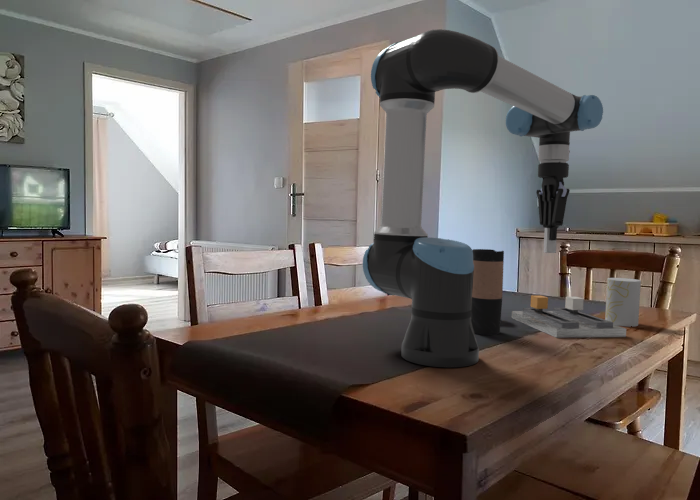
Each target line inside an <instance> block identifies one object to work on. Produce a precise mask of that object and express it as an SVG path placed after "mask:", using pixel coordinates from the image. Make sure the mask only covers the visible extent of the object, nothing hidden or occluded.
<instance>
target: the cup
mask: <svg viewBox="0 0 700 500" xmlns="http://www.w3.org/2000/svg"><path fill="white" fill-rule="evenodd" d="M641 283H642V280H641V279H635V278H627V277H626V278H625V277H607V281H606V284H607V285H606V300H605V317H604V320H607V321H611V322H613V325H617V326H620V327H631V326H632V327H637V326H639V321H640V319H639V317H640V305H641V304H640V301H641Z"/></svg>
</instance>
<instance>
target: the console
mask: <svg viewBox="0 0 700 500" xmlns="http://www.w3.org/2000/svg"><path fill="white" fill-rule="evenodd" d="M511 319H513V320H514V321H517V322H519V323H522V324H524V325H526V326H528V327H531V328H533V329H536V330H538V331H540V332H543V333H545V334H547V335H549V336H552V337H554V338H557V339H558V338H559V339H560V338H562V339H563V338H564V339H565V338H567V339H568V338H569V339H570V338H571V339H572V338H627V328H626V327H624V326H617V325H613V322H611V321H607V320H605V318H602V317H601V318H600V317H598V316H594V315H591V314H588V313H585V312H582V311H580V310H578V315H577V314H574V313H571V312H570V309H568V308H565V307H553V309H552V310H546V309H543V312H542V313H539V312H537V311H535V308H533V307H522V310H512V311H511Z"/></svg>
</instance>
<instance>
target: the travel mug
mask: <svg viewBox="0 0 700 500" xmlns="http://www.w3.org/2000/svg"><path fill="white" fill-rule="evenodd" d="M472 251H473V264H474V273H473V290H472V308H471V323H472V327H473V330H474V334H475V335H480V336H483V335H484V336H495V335H496V336H497V335H499V334H500V332H501V322H502V321H501V320H502V308H503V307H502V305H503V292H504V291H503V289H504V287H503V286H504V263H505V262H504V260H505V259H504V256H505V255H504V254H505V252H504V250H499V251H497V250H495V249H488V248H487V249H486V248H476V249H475V248H473V249H472Z"/></svg>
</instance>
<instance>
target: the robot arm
mask: <svg viewBox="0 0 700 500" xmlns="http://www.w3.org/2000/svg"><path fill="white" fill-rule="evenodd" d="M371 66H372V67H371V71H370V81H371V86H372V88H373V90H375V94H376V95H377V96H378V98H379V106H380V108H382V110H383V111H384V112H385V114H386V118H385V136H384V138H385V140H384V158H383V159H384V162H383V163H384V164H383V179H382V180H383V181H382V184H383V185H382V202H381V204H382V205H381V224H380V225H379V227H378V228H376V230H374V232H373V242H372V243H371V244H369V246H368V248H367V249H366V250H365V251H364V254H363V258H362V271H363V275H364V277H365V280H366V281H367V283H369V285H370V286H371V287H373V288H374V289H375V290H377V291H379V292H382V293H384V294H386V295H388V296H397V297H401V298H404V299H405V298H406V299H411V314H410V315H411V316H410V317H411V318H410V321H409V323H408V326H407V328H406V332H405V334H404V338H403V340H402V342H401V349H400V350H401V355H400V356H401V357H402V358H403V359H404V360H405V361H407V362H410V363H414V364H417V365H421V366H426V367H427V366H428V367H434V368H463V367H469V366H473V365H475V364H477V363H478V362H479V357H480V356H479V355H480V349H479V344H478V341H477V338H476V334H475V333H474V330H473V327H472V323H471V308H472V290H473V273H474V264H473V251H472V250H473V249H472V247H471V246H469V245H468V244H466V243H464V242H462V241H457V240H454V239H445V238H440V237H439V238H438V237H429V235H428V232H426V231H425V230H424V228H423V227H422V219H423V218H422V216H423V215H422V214H423V200H424V199H423V197H424V196H423V195H424V194H423V193H424V179H425V178H424V176H425V175H424V174H425V157H426V156H425V154H426V134H427V118H428V117H427V115H428V114H429V113H430V112H431V110H432V109H434V108H435V101H436V99H435V98H436V92H439V91H442V90H450V89H452V90H453V89H456V90H459V89H460V90H463V91H466V92H468V93H472V94H477V93H479V92H481V93H484V94H485V95H488V96H491V97H492V98H494V99H497V100H499V101H500V102H504V103H506V104H508V105H511V106H512V107H511V108H510V109H509V110H508V111H507V113H506V115H505V127H506V129H507V130H508V132H509V133H510V134H512V135H516V136H519V137H529V138H531V137H532V138H539V141H538V142H539V143H538V162H539V164H538V165H537V167H538V169H537V177H538V178H539V179H542V183H541V188H540V189H537V190H536V196H537V197H536V198H537V202H538V203H537V204H538V215H539V219H538V220H539V225H541V226H542V227H543V228H544V231H543V232H544V233H543V253H544V254H555V253H557V236H558V228H559V227H561V226H563V224H564V218H565V212H566V205H567V201H568V197H569V194H570V190H571V189H570V188H566V187H565V181H564V179H566V178H568V177H569V170H570V168H569V167H570V164H569V163H568V161H569V160H570V153H571V152H570V151H571V150H570V143H571V142H570V140H571V137H570V136H571V133H572V132H578V131H581V132H583V131H584V132H585V131H586V130H592V129H596V127H598V126H599V125H600V123H602V119H603V115H604V107H603V103H602V100H600V98H599V97H598V96H596V95H595V94H594V95H593V94H589V95H586V94H584V95H581V96H578V95H576V94H573V93H571V92H569V91H567V90H565V89H564V88H561V87H559V86H557V85H555V84H554V83H552V82H550V81H548V80H546V79H544V78H542V77H540V76H538V75H536V74H534V73H532V72H530V71H529V70H526V69H525V68H523V67H521V66H520V65H517V64H515V63H513V62H512V61H509V60H507V59H505V58H503V57H502V56H500V55H499V52H498V50H497V49H496V48H495V47H494V46H492V45H491V44H488V43H486V42H485V41H483V40H480V39H478V38H477V37H473V36H471V35H469V34H465V33H462V32H459V31H454V30H450V29H442V28H441V29H431V30H428V31H424V32H422V33H420V34H418V35H415V36H413V37H409V38H407V39H404V40H402V41H401V40H400V41H397V42H394V43H393V44H392V43H391V44H390V45H388V46H387V47H386V48H384V49H382V50H381V51H380V52H379V53H378V54H377V56H376V57H375V59H374V61H373V62H372V65H371Z"/></svg>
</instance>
